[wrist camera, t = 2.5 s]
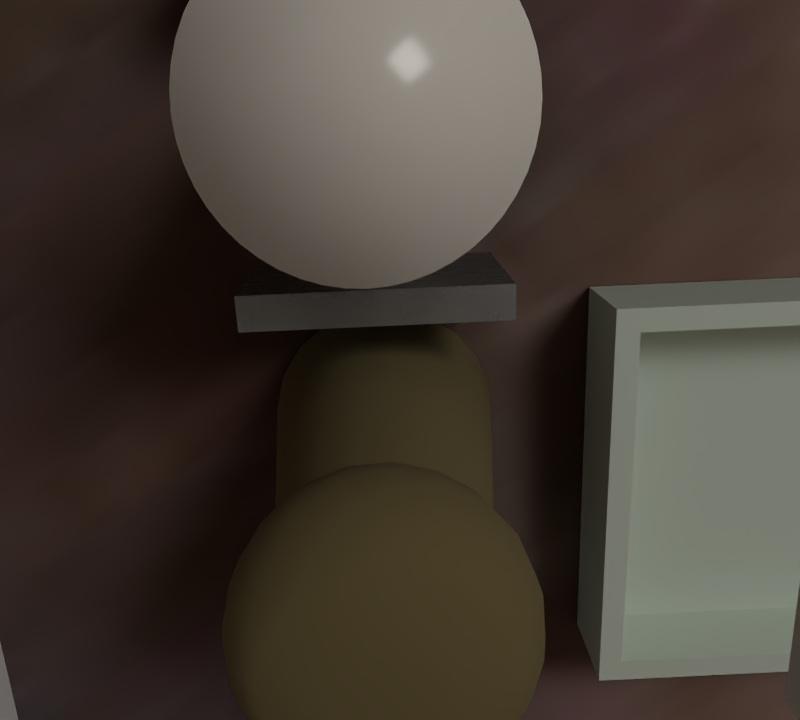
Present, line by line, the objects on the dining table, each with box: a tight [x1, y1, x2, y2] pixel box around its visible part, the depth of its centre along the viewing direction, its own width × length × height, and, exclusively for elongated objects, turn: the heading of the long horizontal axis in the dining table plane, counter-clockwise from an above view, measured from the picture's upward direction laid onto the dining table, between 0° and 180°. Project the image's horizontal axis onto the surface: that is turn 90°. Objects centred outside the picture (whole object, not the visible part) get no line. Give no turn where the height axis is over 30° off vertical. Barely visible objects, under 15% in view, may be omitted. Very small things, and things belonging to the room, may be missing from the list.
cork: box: [222, 324, 546, 720], centre depth 16 cm, size 6×6×11 cm
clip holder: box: [234, 253, 516, 333], centre depth 19 cm, size 25×6×4 cm, turn 2°
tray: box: [577, 278, 800, 680], centre depth 20 cm, size 11×11×2 cm
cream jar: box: [169, 0, 542, 289], centre depth 14 cm, size 5×5×9 cm
